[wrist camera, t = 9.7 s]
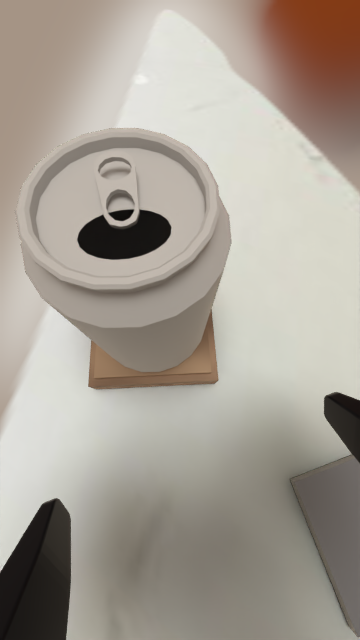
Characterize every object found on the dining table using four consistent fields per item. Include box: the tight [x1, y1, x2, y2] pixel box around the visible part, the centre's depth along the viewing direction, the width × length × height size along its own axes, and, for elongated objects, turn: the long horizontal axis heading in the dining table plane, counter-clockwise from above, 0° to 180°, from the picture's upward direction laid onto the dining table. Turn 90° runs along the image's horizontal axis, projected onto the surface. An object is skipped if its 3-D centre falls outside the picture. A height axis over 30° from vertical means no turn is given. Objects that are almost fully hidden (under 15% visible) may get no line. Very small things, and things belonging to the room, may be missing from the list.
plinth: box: [88, 310, 218, 389], centre depth 20 cm, size 9×9×2 cm
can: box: [15, 128, 232, 372], centre depth 13 cm, size 8×8×12 cm
